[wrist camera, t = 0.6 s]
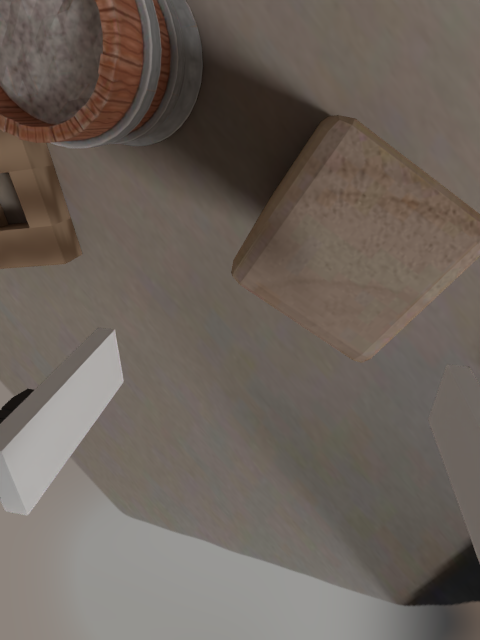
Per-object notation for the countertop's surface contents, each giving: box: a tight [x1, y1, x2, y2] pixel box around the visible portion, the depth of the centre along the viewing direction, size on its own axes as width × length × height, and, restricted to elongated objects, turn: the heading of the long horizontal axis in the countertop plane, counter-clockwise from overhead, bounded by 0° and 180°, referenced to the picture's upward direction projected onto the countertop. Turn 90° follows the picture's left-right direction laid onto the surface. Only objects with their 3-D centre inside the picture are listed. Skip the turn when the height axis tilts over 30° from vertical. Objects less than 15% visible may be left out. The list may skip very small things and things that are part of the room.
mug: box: [0, 0, 203, 148], centre depth 27 cm, size 14×19×15 cm
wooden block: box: [231, 115, 480, 362], centre depth 28 cm, size 10×10×20 cm
